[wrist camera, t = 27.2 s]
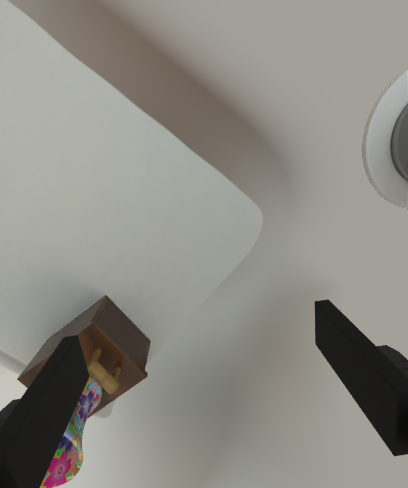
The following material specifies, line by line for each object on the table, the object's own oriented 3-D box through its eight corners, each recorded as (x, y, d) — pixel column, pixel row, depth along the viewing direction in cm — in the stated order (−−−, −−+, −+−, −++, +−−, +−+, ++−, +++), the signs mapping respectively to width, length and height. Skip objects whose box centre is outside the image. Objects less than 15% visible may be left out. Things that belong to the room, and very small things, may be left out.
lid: (93, 319, 41) (81, 341, 36) (147, 373, 43) (143, 399, 39) (19, 375, 42) (-2, 402, 37) (76, 422, 45) (63, 453, 40)
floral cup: (77, 349, 41) (42, 411, 31) (119, 392, 43) (99, 463, 33) (12, 391, 42) (-43, 464, 32) (56, 430, 44) (18, 511, 34)
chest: (106, 295, 49) (89, 323, 41) (150, 341, 52) (143, 376, 44) (47, 339, 51) (20, 375, 42) (94, 381, 54) (76, 422, 45)
